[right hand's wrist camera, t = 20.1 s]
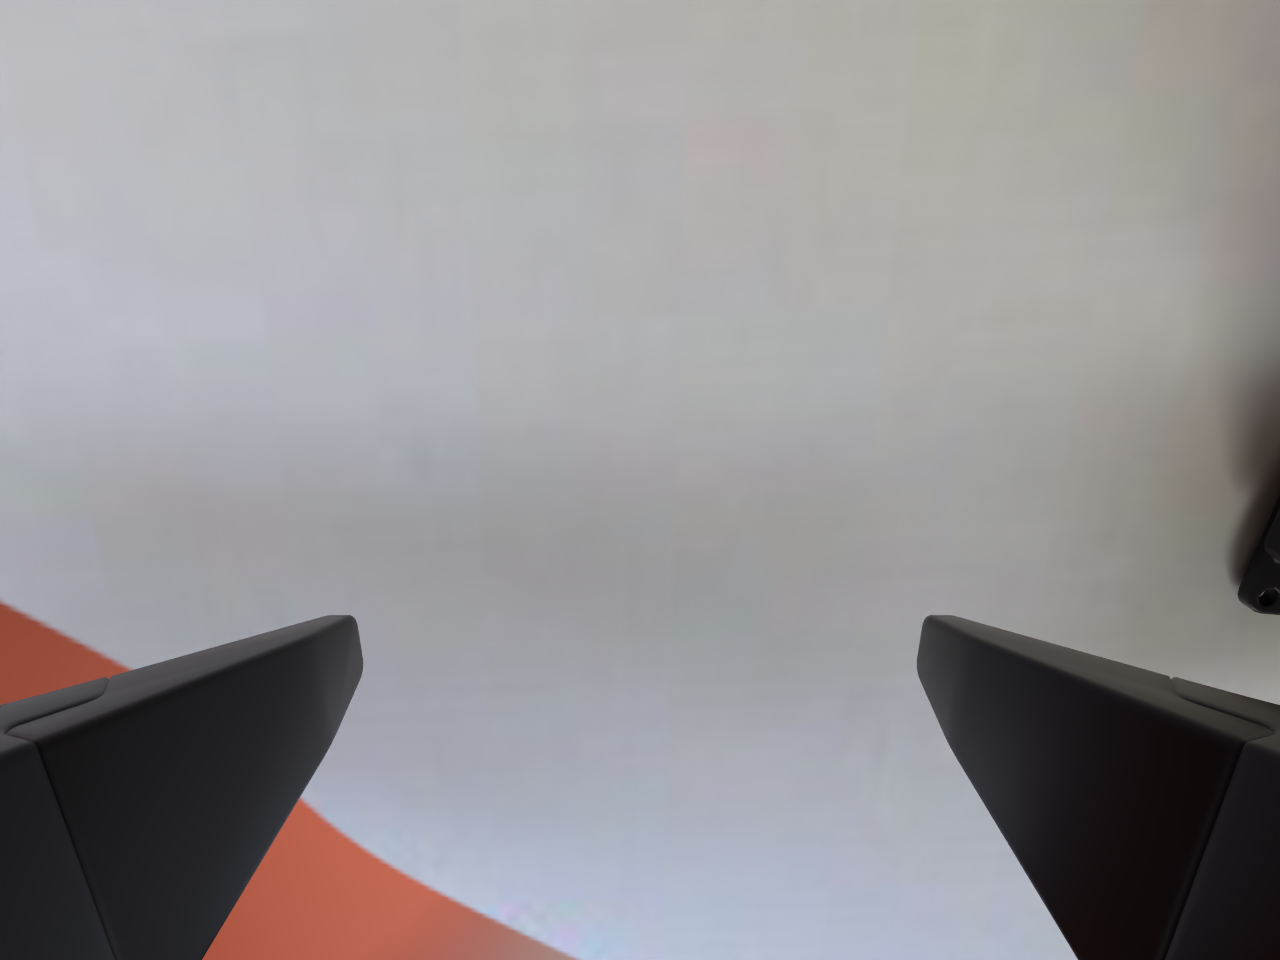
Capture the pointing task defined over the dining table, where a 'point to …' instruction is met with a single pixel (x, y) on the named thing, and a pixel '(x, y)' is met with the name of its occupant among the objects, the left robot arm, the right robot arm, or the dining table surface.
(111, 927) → the right robot arm
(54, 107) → the dining table surface
